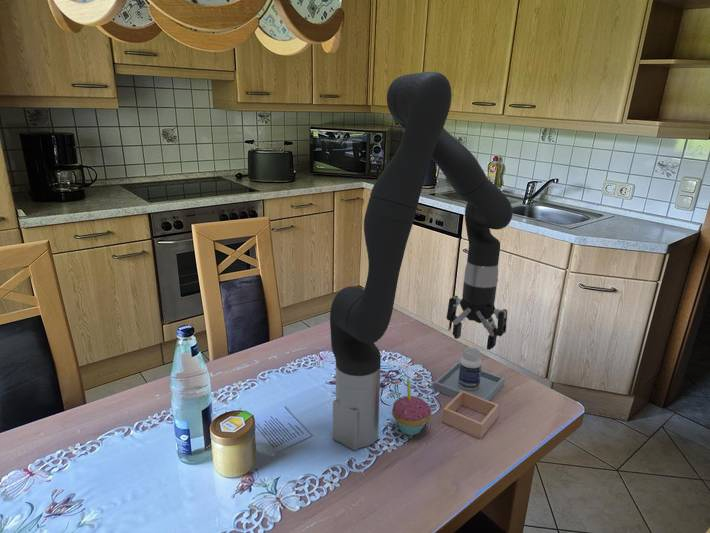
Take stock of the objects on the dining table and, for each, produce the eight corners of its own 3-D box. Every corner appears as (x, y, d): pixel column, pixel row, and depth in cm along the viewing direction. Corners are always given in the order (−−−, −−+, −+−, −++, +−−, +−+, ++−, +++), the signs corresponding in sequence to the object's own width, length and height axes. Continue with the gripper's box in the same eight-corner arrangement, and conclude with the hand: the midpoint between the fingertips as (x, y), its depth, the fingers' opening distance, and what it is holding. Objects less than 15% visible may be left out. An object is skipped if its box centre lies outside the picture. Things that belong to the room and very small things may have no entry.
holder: (480, 438, 103) (482, 425, 102) (442, 421, 109) (443, 408, 108) (497, 418, 110) (499, 404, 109) (460, 402, 116) (461, 390, 115)
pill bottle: (481, 391, 119) (485, 356, 116) (459, 390, 119) (463, 356, 116) (476, 379, 124) (480, 345, 121) (455, 379, 124) (458, 345, 121)
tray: (482, 409, 113) (483, 401, 113) (433, 389, 121) (434, 382, 120) (503, 385, 123) (504, 378, 122) (457, 368, 131) (457, 361, 130)
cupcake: (384, 422, 108) (385, 376, 104) (415, 412, 112) (418, 367, 108) (405, 445, 101) (407, 396, 97) (438, 434, 105) (441, 386, 101)
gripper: (445, 277, 114) (439, 339, 119) (503, 292, 106) (494, 358, 111) (459, 270, 120) (453, 329, 125) (516, 283, 111) (507, 346, 116)
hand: (473, 343), depth 118 cm, fingers open, 8 cm apart
